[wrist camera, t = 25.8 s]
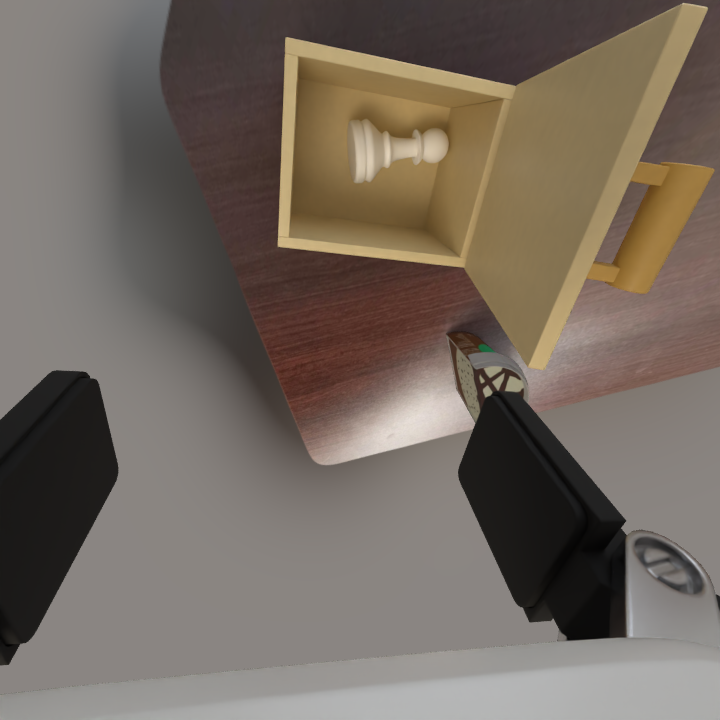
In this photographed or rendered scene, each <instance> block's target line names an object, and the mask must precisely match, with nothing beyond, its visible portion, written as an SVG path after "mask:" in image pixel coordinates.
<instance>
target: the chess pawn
mask: <svg viewBox="0 0 720 720" xmlns="http://www.w3.org/2000/svg"><path fill="white" fill-rule="evenodd" d="M448 147H449V141H448V137H447V135H446V133H445V132H444V131H443V130H441V129H438V128H432V129H429V130H427V131H426V132H424V133H423V135H422V134H421V132H420V131H419V130H417V129H415V130H414V131H413V134H412V138H395V137H392V136H390V134H389V133H388V132H387V131H384V132H383V133H380V132H379V131H378V130H377V129H376V128H375V126H374V125H373V124H372V123H371V122H370V121H369V120H368V119H364V120H362V121H360V120H351V121H349V124H348V129H347V149H348V160H349V168H350V173H351V177H352V180H353V182H354V183H363V182H364V181H367V182H371V181H372V180H373V179H374V177H375V176H376V175H377V173H378V172H379V171H380V169H381V168H382V167H385V168H389V167H390V165H391V163H392V162H394V161H397V160H400V159H405V158H410V157H412V161H413V163H414V165H417V164H419V163H420V161H421V160H422V159H423V160H424V161H425V162H427V163H437V162H439V161H441V160H442V159H443V158H444V157H445V155H446V154H447V151H448Z"/></svg>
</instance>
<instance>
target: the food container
mask: <svg viewBox="0 0 720 720" xmlns="http://www.w3.org/2000/svg"><path fill="white" fill-rule="evenodd" d="M446 337H447V342H448V347H449V353H450V358H451V363H452V368H453V374H454V379H455V384H456V389H457V391H458V393H459V395H460V397H461V398H462V400H463V402H464V404H465V405H466V407H467V409H468V411H469V413H470V414H471V416H472V418H473V420H474V422H475V423H476V421H477V418H478V416H479V413H480V411H481V408H482V405H483V403H484V400H485V398H486V397H487V396H491V394H492V393H493V392H494V391H513V392H518V393H519V394H520V395H521V396H522V398H523V399H524V400H525V401H526V402H527V403H528V401H529V389H528V383H527V380H526V378H525V376H524V374H523V372H522V370H521V368H520V367H519V365H518V364H517V363H516V362H515V361H514V360H512V359H511V358H509V357H507V356H505V355H502V354H499V353H496V352H495V351H493V350H492V349H491V348H490V347H489V346H488V345H487V344H485V343H484V342H483V341H482V340H481V339H480V338H479V337H477V336H476V335H474V334H471V333H468V332H451V333H447V334H446Z"/></svg>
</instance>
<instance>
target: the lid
mask: <svg viewBox="0 0 720 720" xmlns="http://www.w3.org/2000/svg"><path fill="white" fill-rule="evenodd" d="M707 10H708V8H707V7H704V6H698V5H692V4H686V3H683V4H681V5H679V6H677V7H674V8H672V9H670V10H668V11H666V12H664V13H662V14H660V15H658V16H656V17H654V18H652V19H650V20H648V21H646V22H644V23H642V24H640V25H638V26H636V27H634V28H632V29H630V30H628V31H626V32H624V33H622V34H620V35H618V36H616V37H614V38H612V39H610V40H607V41H605V42H603V43H601V44H599V45H597V46H595V47H593V48H591V49H589V50H587V51H585V52H583V53H581V54H579V55H577V56H575V57H573V58H571V59H569V60H567V61H565V62H563V63H561V64H559V65H557V66H555V67H553V68H551V69H549V70H547V71H545V72H542V73H540V74H538V75H536V76H534V77H532V78H530V79H528V80H526V81H524V82H522V83H520V84H518V85H517V86H516V88H515V92H514V95H513V99H512V102H511V106H510V109H509V113H508V116H507V120H506V123H505V127H504V130H503V134H502V137H501V141H500V145H499V148H498V152H497V155H496V159H495V162H494V166H493V169H492V173H491V176H490V180H489V183H488V187H487V190H486V194H485V197H484V201H483V204H482V208H481V211H480V215H479V218H478V222H477V225H476V229H475V232H474V236H473V239H472V243H471V246H470V250H469V253H468V257H467V260H466V264H465V267H464V269H465V271H466V272H467V274H468V275H469V277H470V278H471V280H472V282H473V283H474V285H475V286H476V288H477V289H478V291H479V292H480V294H481V295H482V297H483V299H484V300H485V302H486V303H487V305H488V306H489V308H490V309H491V311H492V313H493V314H494V316H495V317H496V319H497V320H498V322H499V323H500V325H501V327H502V328H503V330H504V331H505V333H506V334H507V336H508V337H509V339H510V340H511V342H512V344H513V345H514V347H515V348H516V350H517V351H518V353H519V354H520V356H521V358H522V359H523V361H524V362H525V364H526V365H527V367H528V368H533V369H540V370H545V368H546V366H547V363H548V361H549V359H550V357H551V355H552V352H553V350H554V348H555V346H556V343H557V341H558V339H559V337H560V335H561V332H562V330H563V328H564V326H565V324H566V321H567V319H568V317H569V315H570V313H571V310H572V308H573V306H574V304H575V302H576V299H577V297H578V295H579V293H580V290H581V288H582V286H583V284H584V282H585V279H586V278H587V279H593V280H599V281H605V283H607V284H608V285H610V286H613V287H615V288H618V289H621V290H625V291H629V292H634V293H641V294H645V293H648V292H649V290H650V288H651V286H652V284H653V283H654V281H655V279H656V277H657V275H658V273H659V272H660V270H661V268H662V266H663V264H664V263H665V261H666V259H667V257H668V255H669V253H670V252H671V250H672V248H673V246H674V244H675V242H676V241H677V239H678V237H679V235H680V233H681V231H682V230H683V228H684V226H685V224H686V222H687V220H688V219H689V217H690V215H691V213H692V211H693V209H694V208H695V206H696V204H697V202H698V200H699V198H700V197H701V195H702V193H703V191H704V189H705V188H706V186H707V184H708V182H709V180H710V178H711V177H712V175H713V173H714V171H715V170H714V169H712V168H708V167H703V166H696V165H689V164H681V163H672V162H661V163H660V165H656V164H651V163H645V162H639V160H640V158H641V156H642V154H643V151H644V149H645V147H646V145H647V143H648V140H649V138H650V136H651V134H652V132H653V129H654V127H655V125H656V123H657V120H658V118H659V116H660V114H661V112H662V109H663V107H664V105H665V103H666V101H667V98H668V96H669V94H670V92H671V90H672V87H673V85H674V83H675V81H676V79H677V76H678V74H679V72H680V70H681V67H682V65H683V63H684V61H685V59H686V56H687V54H688V52H689V50H690V48H691V45H692V43H693V41H694V39H695V37H696V34H697V32H698V30H699V28H700V26H701V23H702V21H703V19H704V17H705V15H706V12H707ZM629 182H636V183H642V184H648V185H650V186H649V188H648V190H647V192H646V194H645V196H644V198H643V200H642V202H641V204H640V207H639V209H638V211H637V213H636V215H635V217H634V219H633V221H632V223H631V225H630V227H629V230H628V232H627V234H626V236H625V238H624V240H623V242H622V244H621V246H620V248H619V250H618V253H617V255H616V257H615V259H614V261H613V263H612V264H610V263H603V262H597V261H594V260H595V257H596V255H597V253H598V251H599V249H600V246H601V244H602V242H603V240H604V237H605V235H606V233H607V231H608V229H609V226H610V224H611V222H612V220H613V218H614V215H615V213H616V211H617V209H618V207H619V204H620V202H621V200H622V198H623V196H624V193H625V191H626V189H627V187H628V185H629Z"/></svg>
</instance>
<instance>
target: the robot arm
mask: <svg viewBox="0 0 720 720" xmlns="http://www.w3.org/2000/svg"><path fill="white" fill-rule="evenodd" d="M117 476H118V463H117V459H116V455H115V451H114V446H113V442H112V438H111V433H110V429H109V425H108V421H107V417H106V412H105V408H104V404H103V399H102V395H101V391H100V387H99V384H98V381H97V380H96V379H90V376H89V375H88V374H87V373H86V372H79V371H58V370H56V371H52V372H51V373H49V374H48V375H47V376H46V377H45V378H44V379H43V380H42V381H41V382H40V383H39V384H38V385H37V386H36V387H34V388H33V390H31V391H30V392H29V393H28V394H27V395H26V396H25V397H24V398H23V399H22V400H21V401H20V402H19V403H18V404H17V405H15V407H13V408H12V409H11V410H10V411H9V412H8V413H7V414H6V415H5V416H4V417H3V418H2V419H1V420H0V665H9V663H10V662H11V660H12V658H13V656H14V654H15V653H16V651H17V649H18V647H19V645H20V644H22V643H26V642H28V641H29V640H30V639H31V638H32V637H33V635H34V634H35V632H36V630H37V629H38V627H39V625H40V623H41V621H42V619H43V617H44V616H45V614H46V612H47V610H48V608H49V606H50V604H51V602H52V600H53V599H54V597H55V595H56V593H57V591H58V589H59V587H60V586H61V584H62V582H63V580H64V578H65V576H66V574H67V572H68V571H69V569H70V567H71V565H72V563H73V561H74V559H75V557H76V556H77V553H78V552H79V550H80V548H81V546H82V544H83V542H84V541H85V539H86V537H87V535H88V533H89V531H90V529H91V527H92V526H93V524H94V522H95V520H96V518H97V516H98V514H99V512H100V510H101V509H102V507H103V505H104V503H105V501H106V499H107V497H108V496H109V494H110V492H111V490H112V488H113V486H114V484H115V482H116V480H117ZM458 476H459V481H460V483H461V485H462V488H463V489H464V492H465V494H466V496H467V498H468V500H469V503H470V505H471V507H472V509H473V512H474V514H475V516H476V518H477V520H478V522H479V525H480V527H481V529H482V531H483V533H484V535H485V538H486V540H487V542H488V544H489V546H490V549H491V551H492V553H493V555H494V557H495V560H496V562H497V564H498V566H499V568H500V571H501V573H502V575H503V577H504V579H505V582H506V584H507V586H508V588H509V590H510V592H511V594H512V597H513V599H514V601H515V602H516V604H517V605H518V606H520V607H523V609H524V611H525V614H526V616H527V618H528V620H529V622H541V621H551V620H552V619H553V618H554V620H555V622H556V624H557V626H558V628H559V634H558V641H557V642H546V643H533V644H522V645H511V646H499V647H487V648H477V649H465V650H453V651H442V652H430V653H419V654H408V655H397V656H386V657H375V658H365V659H355V660H354V659H353V660H342V661H332V662H321V663H310V664H300V665H289V666H278V667H268V668H257V669H246V670H235V671H225V672H215V673H205V674H194V675H184V676H174V677H164V678H154V679H144V680H133V681H123V682H114V683H102V684H93V685H82V686H72V687H62V688H53V689H45V690H36V691H28V692H18V693H10V694H1V695H0V720H720V596H718V595H716V594H715V590H714V586H713V584H712V582H711V579H710V577H709V575H708V574H707V572H706V571H705V569H704V568H703V567H702V565H701V564H700V563H699V562H698V561H697V560H696V559H695V558H694V557H693V556H692V555H691V554H690V553H689V552H687V551H686V550H685V549H683V548H682V547H681V546H679V545H678V544H677V543H675V542H673V541H671V540H670V539H668V538H666V537H664V536H662V535H659V534H656V533H654V532H651V531H645V530H636V531H632V532H631V533H629V534H628V535H626V534H625V533H624V531H623V530H622V529H621V527H622V526H623V525H624V523H625V522H626V520H625V519H624V518H623V516H622V515H621V514H620V513H619V512H618V510H617V509H616V508H615V507H614V506H613V504H612V503H611V502H610V501H609V500H608V499H607V497H606V496H605V495H604V494H603V493H602V491H601V490H600V489H599V488H598V487H597V485H596V484H595V483H594V482H593V481H592V479H591V478H590V477H589V476H588V475H587V474H586V472H585V471H584V470H583V469H582V468H581V467H580V465H579V464H578V463H577V462H576V461H575V459H574V458H573V457H572V456H571V455H570V453H569V452H568V451H567V450H566V449H565V448H564V446H563V445H562V444H561V443H560V441H559V440H558V439H557V438H556V437H555V436H554V434H553V433H552V432H551V431H550V430H549V428H548V427H547V426H546V425H545V424H544V423H543V421H542V420H541V419H540V418H539V417H538V415H537V414H536V413H535V412H534V411H533V409H532V408H531V407H530V406H529V405H528V403H527V402H526V401H525V400H524V399H523V398H522V396H521V395H520V394H519V393H518V392H513V391H494V392H493V393H492V394H491V396H487V397H486V398H485V400H484V403H483V405H482V408H481V411H480V413H479V416H478V418H477V421H476V424H475V426H474V429H473V432H472V434H471V437H470V440H469V442H468V445H467V448H466V450H465V453H464V455H463V458H462V461H461V464H460V466H459V470H458Z"/></svg>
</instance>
